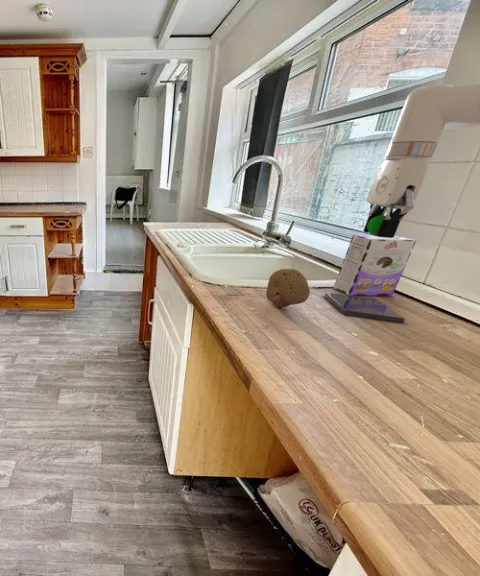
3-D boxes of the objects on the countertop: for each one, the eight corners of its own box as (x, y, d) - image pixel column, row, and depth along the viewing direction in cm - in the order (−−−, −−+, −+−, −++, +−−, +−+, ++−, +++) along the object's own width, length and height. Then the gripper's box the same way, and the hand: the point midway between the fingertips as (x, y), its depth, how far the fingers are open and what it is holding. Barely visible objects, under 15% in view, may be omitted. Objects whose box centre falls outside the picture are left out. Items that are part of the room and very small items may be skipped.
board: (374, 302, 82) (376, 298, 82) (403, 323, 71) (405, 318, 71) (324, 296, 85) (325, 292, 84) (344, 314, 74) (346, 310, 74)
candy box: (374, 288, 93) (396, 235, 87) (393, 296, 87) (418, 239, 81) (332, 287, 92) (352, 233, 85) (348, 295, 86) (371, 238, 80)
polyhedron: (368, 236, 73) (375, 215, 71) (360, 232, 77) (367, 213, 75) (394, 238, 71) (403, 218, 69) (385, 235, 75) (393, 215, 73)
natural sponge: (307, 309, 76) (320, 271, 72) (296, 319, 71) (309, 278, 67) (269, 297, 82) (279, 261, 79) (256, 305, 77) (266, 267, 73)
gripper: (368, 153, 75) (343, 227, 82) (414, 149, 60) (378, 240, 67) (405, 154, 74) (376, 230, 80) (462, 151, 58) (420, 244, 65)
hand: (377, 234), depth 74 cm, fingers closed on polyhedron, 5 cm apart
